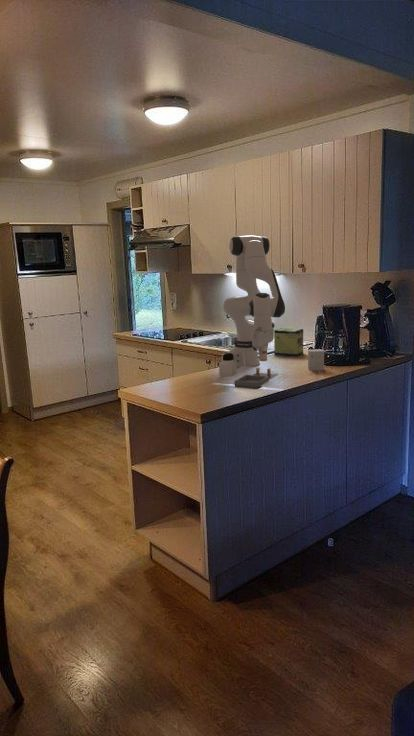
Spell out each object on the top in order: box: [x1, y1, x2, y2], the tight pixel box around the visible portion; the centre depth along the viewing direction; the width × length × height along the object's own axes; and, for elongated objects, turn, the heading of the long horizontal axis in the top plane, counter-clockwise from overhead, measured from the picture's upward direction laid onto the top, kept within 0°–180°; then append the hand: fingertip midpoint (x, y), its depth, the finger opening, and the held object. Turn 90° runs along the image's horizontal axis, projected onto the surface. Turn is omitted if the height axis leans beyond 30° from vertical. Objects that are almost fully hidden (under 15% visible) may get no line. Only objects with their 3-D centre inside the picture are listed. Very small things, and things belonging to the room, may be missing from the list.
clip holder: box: [253, 367, 279, 380], centre depth 265 cm, size 12×12×5 cm
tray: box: [234, 374, 269, 390], centre depth 253 cm, size 12×14×3 cm
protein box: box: [273, 327, 304, 357], centre depth 324 cm, size 10×16×16 cm
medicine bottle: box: [218, 352, 238, 378], centre depth 272 cm, size 7×7×12 cm
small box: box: [307, 348, 325, 371], centre depth 280 cm, size 8×6×10 cm
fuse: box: [258, 343, 268, 362], centre depth 263 cm, size 4×4×9 cm
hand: (263, 353), depth 264 cm, fingers closed on fuse, 4 cm apart
